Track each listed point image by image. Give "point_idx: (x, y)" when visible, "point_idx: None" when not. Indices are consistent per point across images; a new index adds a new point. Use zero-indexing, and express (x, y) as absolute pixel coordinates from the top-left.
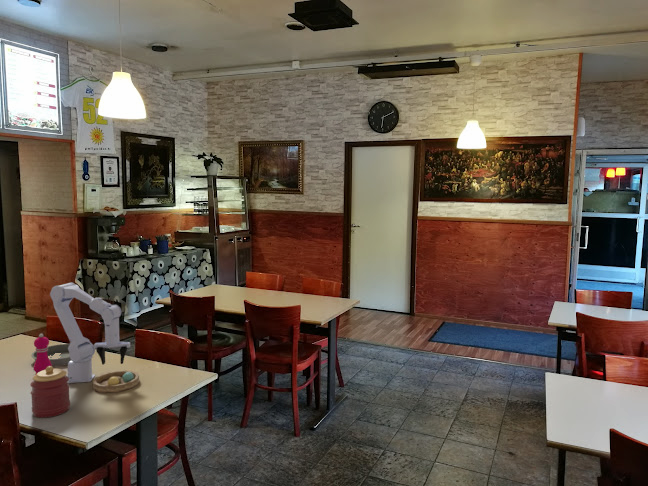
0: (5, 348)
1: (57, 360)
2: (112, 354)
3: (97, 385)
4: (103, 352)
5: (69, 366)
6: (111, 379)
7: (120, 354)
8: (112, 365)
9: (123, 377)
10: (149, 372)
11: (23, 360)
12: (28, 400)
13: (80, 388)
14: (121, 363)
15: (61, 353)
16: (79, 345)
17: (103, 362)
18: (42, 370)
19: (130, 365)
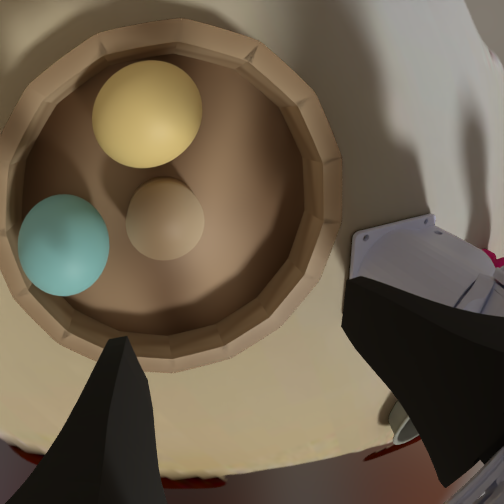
0: None
1: None
2: (317, 457)
3: (272, 52)
4: (457, 396)
5: (487, 260)
6: (151, 71)
7: (99, 469)
8: (296, 417)
9: (80, 209)
10: (71, 397)
11: None
12: (476, 51)
13: (373, 135)
14: (114, 341)
15: None
16: (405, 439)
17: (367, 287)
18: (502, 261)
19: (219, 437)
